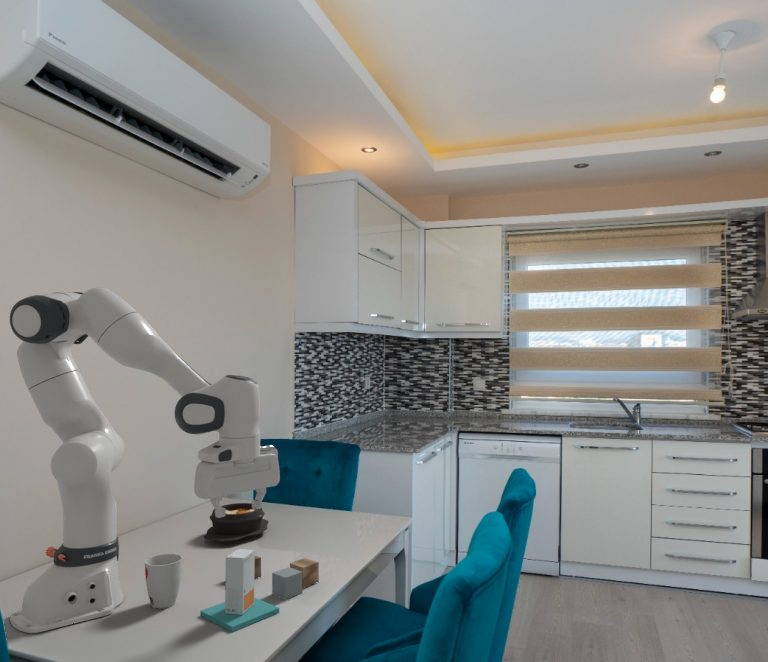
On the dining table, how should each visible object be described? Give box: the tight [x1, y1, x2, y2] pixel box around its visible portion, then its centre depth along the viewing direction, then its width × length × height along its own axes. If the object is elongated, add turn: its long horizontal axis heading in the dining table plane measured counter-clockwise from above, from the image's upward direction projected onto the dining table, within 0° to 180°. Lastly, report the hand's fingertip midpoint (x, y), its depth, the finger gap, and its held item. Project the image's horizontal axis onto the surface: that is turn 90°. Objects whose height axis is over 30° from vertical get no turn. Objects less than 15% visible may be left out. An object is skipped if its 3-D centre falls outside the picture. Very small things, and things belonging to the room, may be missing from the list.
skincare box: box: [224, 548, 256, 615], centre depth 131 cm, size 6×4×12 cm
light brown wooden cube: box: [289, 557, 320, 589], centre depth 148 cm, size 5×5×5 cm
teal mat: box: [199, 596, 280, 633], centre depth 130 cm, size 12×12×1 cm
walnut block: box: [254, 555, 262, 580], centre depth 152 cm, size 5×5×5 cm
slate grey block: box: [271, 566, 303, 600], centre depth 141 cm, size 5×5×5 cm
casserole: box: [203, 502, 270, 543], centre depth 189 cm, size 25×19×8 cm
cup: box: [144, 553, 184, 610], centre depth 136 cm, size 8×8×10 cm
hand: (238, 512), depth 131 cm, fingers open, 8 cm apart
